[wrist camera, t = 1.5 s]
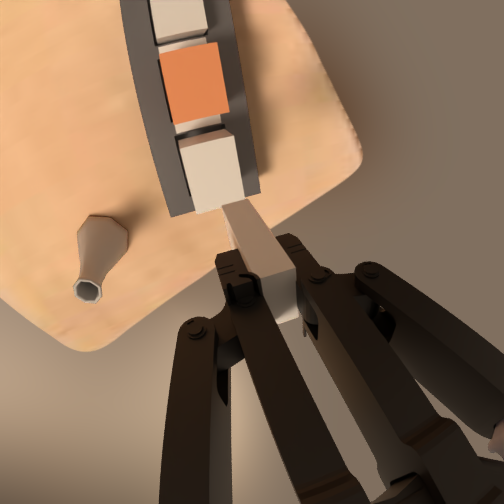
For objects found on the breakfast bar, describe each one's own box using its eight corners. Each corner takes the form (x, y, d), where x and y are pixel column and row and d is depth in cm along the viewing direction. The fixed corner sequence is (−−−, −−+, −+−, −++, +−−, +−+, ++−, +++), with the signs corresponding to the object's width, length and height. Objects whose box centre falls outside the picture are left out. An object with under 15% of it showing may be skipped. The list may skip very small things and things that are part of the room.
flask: (71, 253, 31) (52, 305, 23) (84, 206, 29) (60, 251, 21) (119, 270, 35) (112, 325, 27) (137, 226, 32) (130, 276, 24)
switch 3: (178, 140, 23) (179, 148, 20) (224, 129, 24) (233, 135, 21) (192, 197, 27) (196, 214, 24) (235, 186, 28) (245, 201, 24)
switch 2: (160, 60, 19) (158, 54, 16) (209, 49, 19) (216, 41, 16) (173, 120, 22) (174, 125, 19) (220, 109, 23) (229, 112, 20)
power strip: (119, -39, 13) (114, -53, 10) (208, -57, 15) (214, -72, 11) (170, 203, 32) (171, 218, 29) (250, 181, 33) (261, 193, 30)
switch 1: (149, -2, 16) (147, -15, 13) (194, -11, 17) (198, -25, 14) (158, 46, 20) (156, 38, 17) (202, 36, 21) (207, 28, 17)
